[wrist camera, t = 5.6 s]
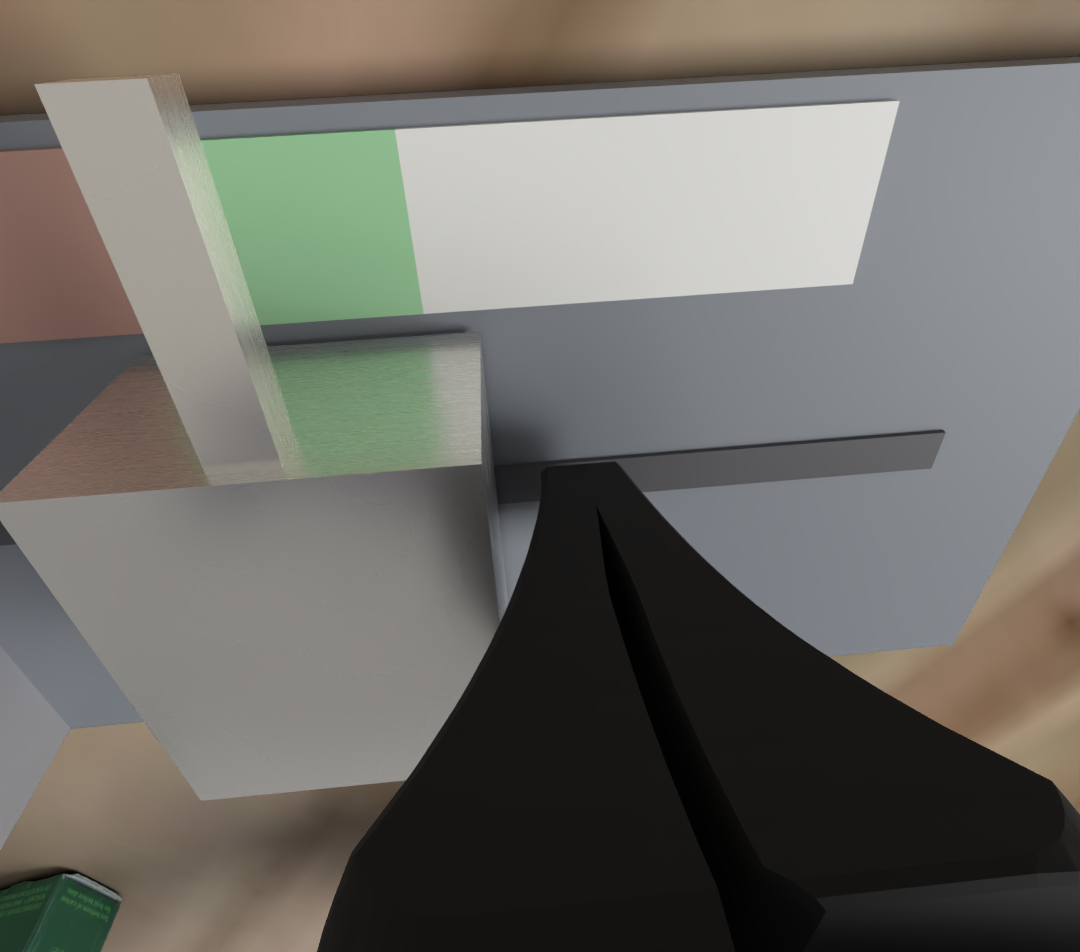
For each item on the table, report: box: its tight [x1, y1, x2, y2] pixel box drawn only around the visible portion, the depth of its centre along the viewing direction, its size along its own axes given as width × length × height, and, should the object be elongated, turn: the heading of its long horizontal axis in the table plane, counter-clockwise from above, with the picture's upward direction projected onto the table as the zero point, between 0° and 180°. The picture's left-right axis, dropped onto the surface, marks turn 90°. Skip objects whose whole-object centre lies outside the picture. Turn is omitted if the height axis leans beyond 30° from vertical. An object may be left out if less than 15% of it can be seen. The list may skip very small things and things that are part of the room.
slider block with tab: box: [0, 73, 508, 801], centre depth 9 cm, size 10×5×4 cm, turn 2°
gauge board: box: [0, 56, 1080, 850], centre depth 10 cm, size 12×24×5 cm, turn 92°
